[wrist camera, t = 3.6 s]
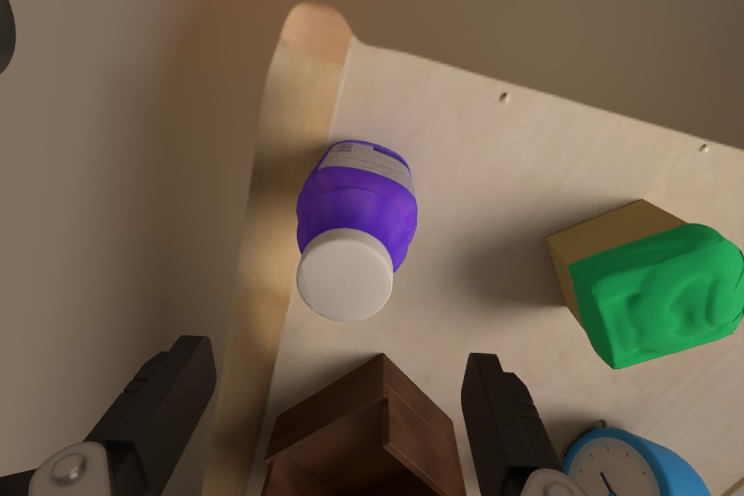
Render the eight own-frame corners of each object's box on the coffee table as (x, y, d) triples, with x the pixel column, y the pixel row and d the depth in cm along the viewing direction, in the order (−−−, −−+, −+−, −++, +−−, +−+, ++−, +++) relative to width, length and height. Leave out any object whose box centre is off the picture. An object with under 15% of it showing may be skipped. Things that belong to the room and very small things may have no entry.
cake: (677, 275, 35) (780, 350, 26) (561, 315, 37) (618, 396, 28) (662, 182, 31) (777, 232, 22) (534, 233, 33) (590, 297, 24)
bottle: (315, 194, 32) (251, 320, 17) (328, 127, 30) (269, 201, 14) (396, 215, 33) (410, 355, 17) (417, 152, 30) (453, 248, 15)
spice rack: (276, 416, 45) (226, 586, 30) (383, 352, 40) (383, 517, 25) (348, 472, 49) (334, 644, 34) (452, 420, 44) (486, 594, 30)
